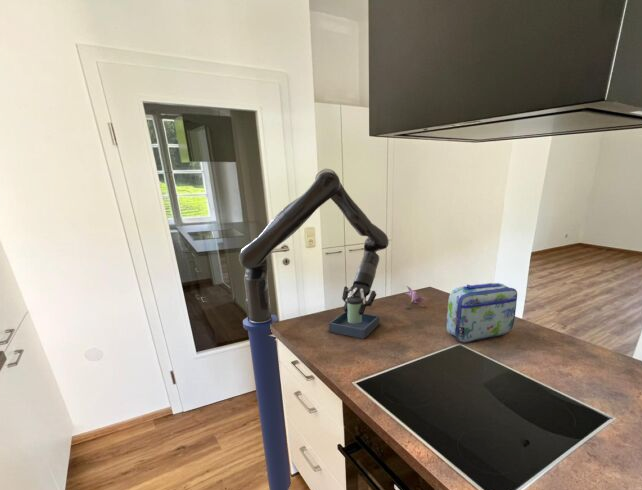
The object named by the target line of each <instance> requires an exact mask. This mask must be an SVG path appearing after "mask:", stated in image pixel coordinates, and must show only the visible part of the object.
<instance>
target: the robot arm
mask: <svg viewBox="0 0 642 490" xmlns="http://www.w3.org/2000/svg"><path fill="white" fill-rule="evenodd" d="M330 199H331V200H332V202H333V203H334V204H335V205H336V206H337V208H338V209H339V210H340V211H341V213H342V214H343V216H344V218H345V219H346V220H347V221H348V223H349V224H350V226H351V227H352V228H353V229H354V230H355V231H356V233H357V234H358V235H359V236H360V237H366V239H365V241H364V244H363V255H362V258H361V262H360V264H359V266H358V268H357V271H356V273H355V277H354V279H353V283H352V285H351V287H348V286H347V285H346V286H344V287H343V291H342V298H341V299H342V301H343V302H344V305H343V312H347V298H348V297H352V296H355V297H361V299H362V304H361V307H360V310H359V314H360V315H362V314H363V313H365V311H366V307H371V306H372V305H373V303H374V301H375V299H376V297H377V293H376V291H375V290H371V289H372V287H373V283H374V280H375V278H376V275H377V269H378V267H379V264H380V259H381V258H380V255H379V254H378V253H377V252H379V251H383V250H385V249H387V248H388V246H389V245H390V244H389V243H390V242H389V241H390V240H389V238H388V235H387V234H386V233H385V232H384V231H383V230H382V229H381V228H379V227H378V226H377V225H375V224H374V223H373V222H372V221H371V220H370V219H369V217H368V216H367V215H366V214H365V212H364V211H363V210H362V209H361V208H360V207H359V206H358V204H357V203H356V202H355V201H354V200H353V199H352V198H351V196H350V195H349V193H348V192H347V191H346V189H345V188H344V186H343V184H342V183H341V180H340V177H339V175H338V174H337V173H336V172H335V171H334V170H333V169H331V168H326V167H325V168H322V169H320V170H318V171H317V173H316V175H315V179H314V181H313V182H312V184H311V185H310V186H309V187H308V189H306V191H305V192H304V193H303V194H301V195H300V196H299V197H298V198H296V199H294V200H293V201H291V202H290V203H288V204H287V205H286V206H284V207H283V208H282V209H281V210H280V211H279V212H278V213H277V214H276V215H275V216H274V218H273V219H272V220H271V221H270V222H269V223H268V224H267V225H266V227H265V229H264V230H262V232H261V233H260V234H259V235H258V237H256V238H255V239H254V240H253V241H251V242H250V243H247V244H246V246H244V247H243V248H242V249H241V250H240V252H239V255H238V260H239V262H240V265H241V266H242V267H243V268H244V269H245V271H244V277H243V280H244V289H245V295H246V296H245V297H246V299H245V300H244V301H245V306H244V311H245V313H246V318H248V321H250V322H251V323H253V324H264V323H267V322H270V321H271V320H272V317H271V314H272V311H271V300H270V299H271V298H270V292H269V282H268V275H269V270H268V256H269V255H270V254H271V253H272V252H273V251H274V250H275V249H276V248H277V247H279V246H280V245H282V243H284V242H285V241H286V240H287V239H289V238H290V237H291V236H292V235H294V234H295V233H296V231H298V230H299V229H300V228H301V227H302V226H303V225H304V224H305V223H306V222H307V221H308V220H309V218H311V216H312V215H313V214H314V213H315V212H316V211H317V210H318V209H319V208H320V207H321V206H322V205H324V204H325V203H326V202H328V201H329V200H330ZM367 296H369V297H368V299H367Z"/></svg>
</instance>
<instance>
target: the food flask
mask: <svg viewBox="0 0 642 490" xmlns="http://www.w3.org/2000/svg"><path fill="white" fill-rule="evenodd" d="M361 304H362V299H361V297H355V296H352V297H349V296H348V298H347V312H348V322H349V323H352V324H358V323H361V322H362V315H360V314H359V310H360V307H361Z"/></svg>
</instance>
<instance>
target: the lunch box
mask: <svg viewBox="0 0 642 490" xmlns="http://www.w3.org/2000/svg"><path fill="white" fill-rule="evenodd" d="M447 301H448V302H447V315H446V331H447V333H449V334H450V335H453V336H454V337H455V338H456V340H457V341H458V342H459V343H463V344H464V343H465V344H467V343H469V342H473V341H474V342H475V341H479V340H483V339H487V338H493V337H500V336H505V335H507V334H509V333H510V332H511V331H512V329H513V327H514V323H515V318H516V312H517V311H516V310H517V301H518V291H517V289H516V288H514V287H509V286H507V285H505V284H503V283H501V282H489V283H486V282H485V283H477V284H466V285H464V286H463V285H462V286H459V287H456V288H454V289H453V290H452V291H451V292H450V294H449V296H448V300H447Z"/></svg>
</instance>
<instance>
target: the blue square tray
mask: <svg viewBox="0 0 642 490" xmlns="http://www.w3.org/2000/svg"><path fill="white" fill-rule="evenodd" d="M379 324H380V315H375V314H371V313H366V312H364V313H363V314H362V322H361V323H358V324H352V323H349V322H348V312H345V311H343V312H342V313H341V314H339V315H338V316H337V317H335V318H334V319H332V320H331V321H330V322H328V329H329V330H328V331H329V333H334V334H339V335H343V336H348V337H353V338H356V339H357V338H358V339H362V340H364V339H366V338H367V337H368V336H369V335H370V334H371V333H372V332H373V331H374V330H375V329H376V328H377V327H378V326H379Z"/></svg>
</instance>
